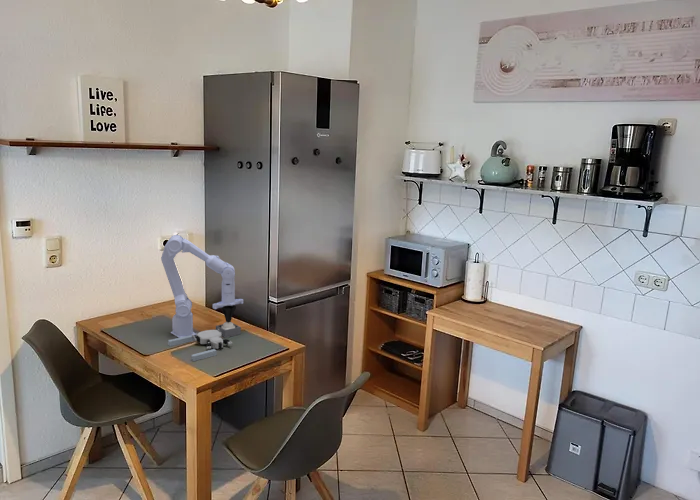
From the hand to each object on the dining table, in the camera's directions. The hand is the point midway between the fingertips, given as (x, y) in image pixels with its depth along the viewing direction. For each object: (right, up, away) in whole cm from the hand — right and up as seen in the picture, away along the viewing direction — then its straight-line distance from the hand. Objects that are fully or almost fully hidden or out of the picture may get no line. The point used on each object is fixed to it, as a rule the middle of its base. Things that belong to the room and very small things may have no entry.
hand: (228, 321), depth 240 cm
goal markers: (-11, -9, -20) cm, 24 cm away
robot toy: (-4, -9, -13) cm, 16 cm away
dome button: (0, -5, +1) cm, 5 cm away
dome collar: (0, -6, +1) cm, 6 cm away
